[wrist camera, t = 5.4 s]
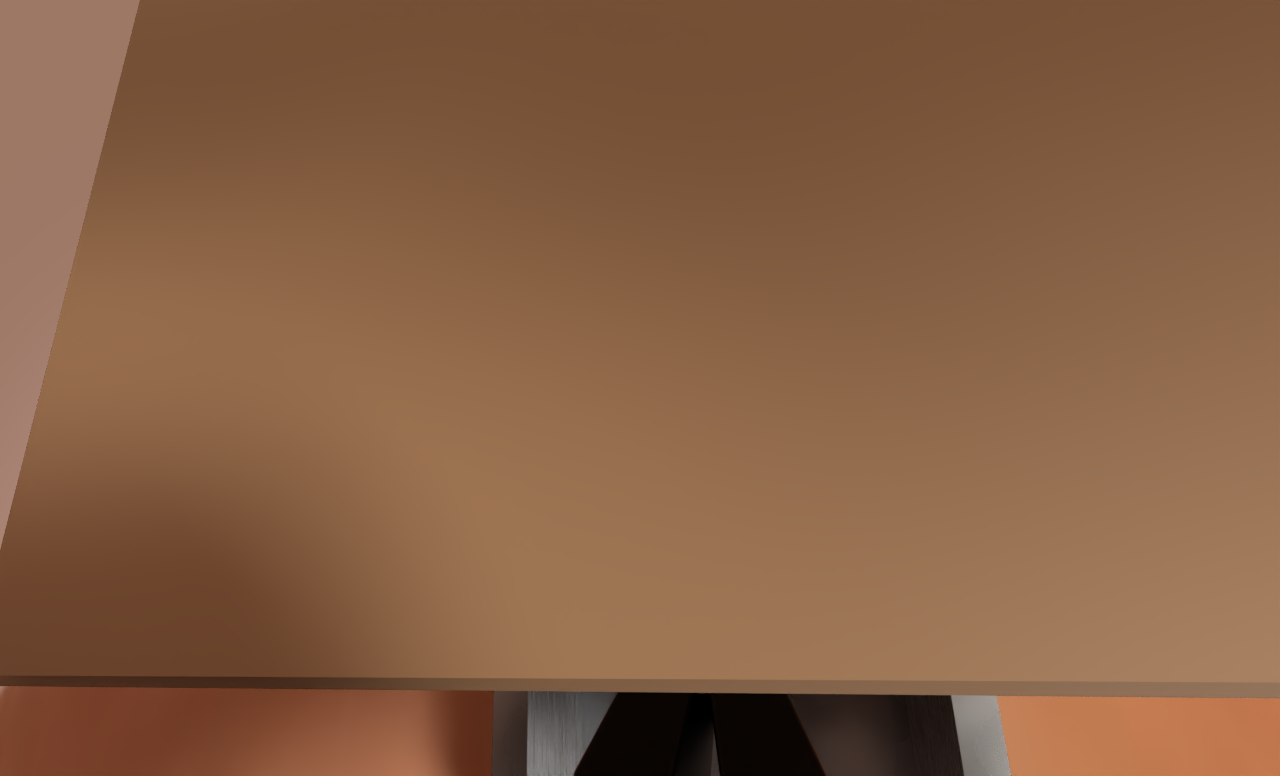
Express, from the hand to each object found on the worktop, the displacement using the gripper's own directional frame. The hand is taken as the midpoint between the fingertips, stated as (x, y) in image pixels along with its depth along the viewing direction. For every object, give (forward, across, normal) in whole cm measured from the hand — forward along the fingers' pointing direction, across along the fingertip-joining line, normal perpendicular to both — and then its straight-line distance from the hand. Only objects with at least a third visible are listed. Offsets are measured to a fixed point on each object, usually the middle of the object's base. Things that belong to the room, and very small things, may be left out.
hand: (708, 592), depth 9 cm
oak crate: (+8, 0, +2) cm, 8 cm away
